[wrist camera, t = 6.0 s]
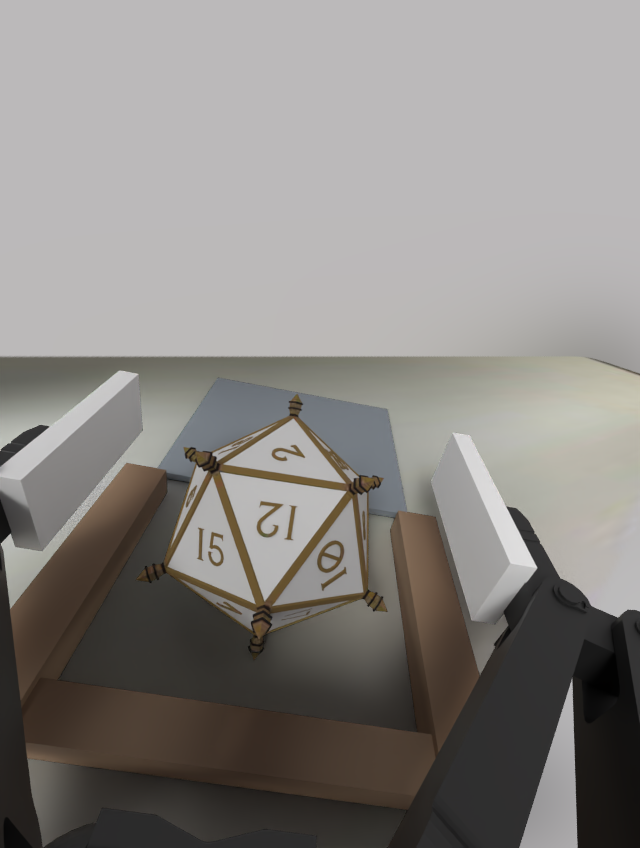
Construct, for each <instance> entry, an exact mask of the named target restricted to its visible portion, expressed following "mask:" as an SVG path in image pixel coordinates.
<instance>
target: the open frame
mask: <svg viewBox="0 0 640 848" xmlns="http://www.w3.org/2000/svg"><path fill="white" fill-rule="evenodd" d="M166 493H167V473H166V470H164V469H158V468H152V467H146V466H141V465H135V464H129V463H126V464H125V465H124V467H123V468H122V469H121V470H120V472H119V473H118V474H117V475H116V477H115V478H114V479H113V480H112V482H111V483H110V484H109V486H108V487H107V488H106V489H105V491H104V492H103V493H102V494H101V496H100V497H99V498H98V499H97V501H96V502H95V503H94V504H93V506H92V507H91V508H90V509H89V511H88V512H87V513H86V515H85V516H84V517H83V518H82V520H81V521H80V522H79V523H78V525H77V526H76V527H75V528H74V530H73V531H72V532H71V533H70V535H69V536H68V537H67V538H66V540H65V541H64V542H63V543H62V545H61V546H60V547H59V549H58V550H57V551H56V552H55V554H54V555H53V556H52V557H51V559H50V560H49V561H48V562H47V564H46V565H45V566H44V567H43V569H42V570H41V571H40V572H39V574H38V575H37V576H36V578H35V579H34V580H33V581H32V583H31V584H30V585H29V586H28V588H27V589H26V590H25V591H24V593H23V594H22V595H21V596H20V598H19V599H18V600H17V601H16V603H15V604H14V605H13V606H12V608H11V609H10V614H11V623H12V631H13V640H14V648H15V657H16V666H17V674H18V683H19V691H20V700H21V709H22V717H23V726H24V734H25V743H26V752H27V758H28V759H36V760H43V761H51V762H58V763H65V764H73V765H80V766H88V767H95V768H102V769H110V770H117V771H124V772H132V773H139V774H147V775H154V776H161V777H169V778H176V779H183V780H191V781H198V782H206V783H213V784H220V785H228V786H235V787H243V788H250V789H257V790H265V791H272V792H279V793H287V794H294V795H302V796H309V797H316V798H324V799H331V800H338V801H346V802H353V803H361V804H368V805H375V806H383V807H390V808H398V809H405V810H408V809H409V807H410V805H411V803H412V801H413V799H414V798H415V796H416V794H417V792H418V790H419V788H420V786H421V785H422V783H423V781H424V779H425V777H426V775H427V773H428V772H429V770H430V768H431V766H432V764H433V762H434V760H435V759H436V757H437V755H438V753H439V751H440V749H441V747H442V746H443V744H444V742H445V740H446V738H447V736H448V734H449V733H450V731H451V729H452V727H453V725H454V723H455V721H456V720H457V718H458V716H459V714H460V712H461V710H462V708H463V707H464V705H465V703H466V701H467V699H468V697H469V695H470V694H471V692H472V690H473V688H474V686H475V684H476V682H477V681H478V679H479V677H480V676H479V672H478V669H477V665H476V661H475V658H474V654H473V651H472V647H471V643H470V640H469V636H468V633H467V629H466V625H465V622H464V618H463V615H462V611H461V607H460V604H459V600H458V597H457V593H456V589H455V586H454V582H453V579H452V575H451V571H450V568H449V564H448V560H447V557H446V553H445V550H444V546H443V542H442V539H441V535H440V532H439V528H438V524H437V521H436V517H433V516H427V515H422V514H416V513H410V512H404V511H399V510H398V512H397V514H396V517H395V519H394V522H393V524H392V527H391V529H390V533H391V540H392V548H393V555H394V563H395V570H396V578H397V585H398V592H399V600H400V607H401V615H402V622H403V630H404V637H405V645H406V652H407V660H408V667H409V674H410V682H411V689H412V697H413V704H414V712H415V719H416V727H417V732H411V731H405V730H398V729H391V728H384V727H377V726H370V725H363V724H356V723H350V722H343V721H336V720H329V719H322V718H315V717H308V716H302V715H295V714H288V713H281V712H274V711H267V710H260V709H254V708H247V707H240V706H233V705H226V704H219V703H212V702H206V701H199V700H192V699H185V698H178V697H171V696H164V695H158V694H151V693H144V692H137V691H130V690H123V689H116V688H110V687H103V686H96V685H89V684H82V683H75V682H68V681H62V680H58V678H59V677H60V675H61V673H62V672H63V670H64V668H65V666H66V665H67V663H68V661H69V660H70V658H71V656H72V654H73V653H74V651H75V649H76V648H77V646H78V644H79V642H80V641H81V639H82V637H83V636H84V634H85V632H86V630H87V629H88V627H89V625H90V624H91V622H92V620H93V618H94V617H95V615H96V613H97V612H98V610H99V608H100V606H101V605H102V603H103V601H104V600H105V598H106V596H107V594H108V593H109V591H110V589H111V588H112V586H113V584H114V582H115V581H116V579H117V577H118V576H119V574H120V572H121V570H122V569H123V567H124V565H125V564H126V562H127V560H128V558H129V557H130V555H131V553H132V552H133V550H134V548H135V546H136V545H137V543H138V541H139V540H140V538H141V536H142V534H143V533H144V531H145V529H146V528H147V526H148V524H149V522H150V521H151V519H152V517H153V516H154V514H155V512H156V510H157V509H158V507H159V505H160V504H161V502H162V500H163V498H164V497H165V495H166Z"/></svg>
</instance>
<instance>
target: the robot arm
mask: <svg viewBox="0 0 640 848" xmlns="http://www.w3.org/2000/svg"><path fill="white" fill-rule="evenodd" d="M142 431H143V426H142V412H141V399H140V386H139V374H136V373H131V372H126V371H120V370H119V371H118V372H117V373H116V374H114V375H113V376H112V377H111V378H109V379H108V380H107V381H106V382H104V383H103V384H102V385H101V386H100V387H98V388H97V389H96V390H95V391H93V392H92V393H91V394H90V395H88V396H87V397H86V398H85V399H83V400H82V401H81V402H80V403H79V404H77V405H76V406H75V407H74V408H72V409H71V410H70V411H69V412H67V413H66V414H65V415H64V416H62V417H61V418H60V419H59V420H58V421H56V422H55V423H54V424H53V425H51V426H50V427H49V426H44V425H39V426H37V427H35V428H32V429H30V430H27V431H25V432H23V433H22V434H20V435H19V436H18V437H16V438H15V439H14V440H13V441H11V444H7V445H6V446H5V447H3V448H2V449H1V451H0V848H316V838H317V836H314V835H307V834H299V833H291V832H284V831H276V830H268V829H263V830H259V831H255V832H251V833H247V834H243V835H239V836H235V837H230V838H226V839H222V840H218V841H214V842H204V841H201V840H199V839H198V838H196V837H194V836H192V835H191V834H189V833H187V832H185V831H184V830H182V829H180V828H178V827H176V826H175V825H173V824H171V823H169V822H168V821H166V820H164V819H162V818H161V817H159V816H157V815H154V814H146V813H138V812H131V811H123V810H115V809H108V808H102V809H101V812H100V814H99V817H98V819H97V822H96V823H92V824H88V825H85V826H82V827H80V828H77V829H74V830H72V831H70V832H68V833H66V834H64V835H62V836H61V837H59V838H57V839H55V840H54V841H52V842H51V843H49V844H48V845H46V846H45V847H43V846H42V839H41V832H40V827H39V822H38V817H37V814H36V810H35V807H34V803H33V798H32V793H31V786H30V777H29V769H28V760H27V752H26V743H25V734H24V726H23V717H22V709H21V700H20V691H19V683H18V674H17V666H16V657H15V648H14V640H13V631H12V623H11V614H10V605H9V597H8V588H7V580H6V571H5V562H4V554H3V549H2V547H1V543H2V542H3V541H4V540H5V539H6V538H7V536H8V535H9V534H10V533H11V536H12V538H13V541H14V544H15V547H19V548H26V549H32V550H38V551H43V549H44V548H45V547H46V546H47V545H48V543H49V542H50V541H51V540H52V539H53V537H54V536H55V535H56V534H57V533H58V531H59V530H60V529H61V528H62V527H63V525H64V524H65V523H66V522H67V521H68V519H69V518H70V517H71V516H72V515H73V513H74V512H75V511H76V510H77V509H78V507H79V506H80V505H81V504H82V503H83V501H84V500H85V499H86V498H87V497H88V495H89V494H90V493H91V492H92V491H93V489H94V488H95V487H96V486H97V485H98V483H99V482H100V481H101V480H102V479H103V477H104V476H105V475H106V474H107V473H108V471H109V470H110V469H111V468H112V467H113V465H114V464H115V463H116V462H117V461H118V459H119V458H120V457H121V456H122V455H123V453H124V452H125V451H126V450H127V449H128V447H129V446H130V445H131V444H132V443H133V441H134V440H135V439H136V438H137V437H138V435H139V434H140V433H141V432H142ZM431 484H432V488H433V491H434V494H435V498H436V501H437V505H438V508H439V511H440V515H441V518H442V522H443V525H444V528H445V532H446V535H447V538H448V542H449V545H450V549H451V552H452V555H453V559H454V562H455V566H456V569H457V572H458V576H459V579H460V583H461V586H462V589H463V593H464V596H465V600H466V603H467V606H468V610H469V613H470V616H471V620H472V621H477V622H483V623H490V624H496V623H497V622H498V620H499V619H500V618H501V616H502V615H503V614H505V617H506V620H507V622H508V625H509V626H508V627H507V628H506V629H505V631H504V632H503V633H502V635H501V636H500V637H499V638H498V640H497V641H496V642H495V644H494V646H496V647H495V649H494V651H493V653H492V655H491V656H490V658H489V660H488V662H487V664H486V666H485V668H484V669H483V671H482V673H481V675H480V677H479V679H478V681H477V682H476V684H475V686H474V688H473V690H472V692H471V694H470V695H469V697H468V699H467V701H466V703H465V705H464V707H463V708H462V710H461V712H460V714H459V716H458V718H457V720H456V721H455V723H454V725H453V727H452V729H451V731H450V733H449V734H448V736H447V738H446V740H445V742H444V744H443V746H442V747H441V749H440V751H439V753H438V755H437V757H436V759H435V760H434V762H433V764H432V766H431V768H430V770H429V772H428V773H427V775H426V777H425V779H424V781H423V783H422V785H421V786H420V788H419V790H418V792H417V794H416V796H415V798H414V799H413V801H412V803H411V805H410V807H409V809H408V811H407V812H406V814H405V816H404V818H403V820H402V822H401V824H400V825H399V827H398V829H397V831H396V833H395V835H394V837H393V838H392V840H391V842H390V843H389V845H388V847H387V848H519V846H520V843H521V840H522V837H523V833H524V830H525V827H526V824H527V820H528V817H529V814H530V811H531V808H532V805H533V801H534V798H535V795H536V792H537V788H538V785H539V782H540V779H541V775H542V773H543V769H544V766H545V763H546V760H547V757H548V753H549V750H550V747H551V744H552V740H553V737H554V734H555V731H556V728H557V725H558V721H559V718H560V715H561V712H562V709H563V705H564V702H565V699H566V695H567V692H568V689H569V686H570V683H571V680H573V712H574V743H575V775H576V803H577V804H576V807H577V839H578V848H640V612H639V611H637V610H627V611H625V612H624V613H623V614H622V615H621V616H620V617H619V618H617V617H615V616H613V615H610V614H608V613H606V612H603V611H601V610H599V609H596V608H594V607H592V606H591V605H590V603H589V601H588V599H587V598H586V597H585V595H584V594H583V593H582V592H581V591H580V590H579V589H578V588H576V587H575V586H574V585H573V584H571V583H569V582H567V581H565V580H563V579H560V577H559V575H558V573H557V572H556V570H555V568H554V566H553V564H552V563H551V561H550V559H549V557H548V555H547V554H546V552H545V550H544V548H543V546H542V545H541V544H540V541H539V539H538V537H537V535H536V534H534V530H533V528H532V526H531V525H530V523H529V521H528V520H527V519H526V518H525V517H524V515H523V514H522V513H521V512H520V511H519V510H518V509H517V508H511V507H506V505H505V503H504V501H503V500H502V498H501V496H500V494H499V492H498V490H497V488H496V486H495V484H494V482H493V480H492V478H491V476H490V474H489V472H488V470H487V468H486V466H485V464H484V462H483V460H482V458H481V456H480V454H479V452H478V450H477V448H476V446H475V444H474V442H473V441H472V439H471V437H470V435H464V434H459V433H454V432H452V434H451V437H450V439H449V441H448V444H447V446H446V448H445V450H444V453H443V455H442V457H441V460H440V462H439V464H438V466H437V469H436V471H435V473H434V476H433V478H432V480H431Z"/></svg>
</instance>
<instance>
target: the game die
mask: <svg viewBox="0 0 640 848" xmlns="http://www.w3.org/2000/svg"><path fill="white" fill-rule="evenodd" d="M289 403H290V406H289V407H288V409H289V411H290V415H289V416H287V417H285V418H283V419H281V420H279V421H277V422H275V423H272V424H270V425H268V426H266V427H264V428H262V429H259V430H257V431H255V432H253V433H251V434H249V435H246V436H244V437H242V438H240V439H238V440H236V441H233V442H231V443H229V444H227V445H225V446H223V447H220V448H218V449H216V450H214V451H212V452H209V451H203V452H200V451H197V450H196V448H194V447H190V448H187V447H183V448H184V451H185V458H186V459H187V458H188V459H189V460H190V462H192V461H193V462H196V464H195V467H194V470H193V473H192V476H191V479H190V482H189V485H188V488H187V491H186V494H185V498H184V501H183V504H182V507H181V510H180V513H179V516H178V519H177V522H176V525H175V528H174V531H173V534H172V537H171V541H170V544H169V547H168V550H167V553H166V556H165V559H164V562H163V563H162V564H157V565H155V564H153V565H152V566H150V567H147V566H145V569H144V570H143V572H142V573H141V574H140V575H139V576H138V578H137V579H136V580H139V581H146V582H149V583H152V581H153V580H155V579H157V580H158V579H159V577H160V576H162V575H163V574H165V573H167V574H169V575H170V576H171V577H173V578H174V579H176V580H177V581H178V582H180V583H181V584H183V585H184V586H186V587H187V588H188V589H190V590H191V591H193V592H194V593H195V594H197V595H198V596H200V597H201V598H203V599H204V600H205V601H207V602H208V603H210V604H211V605H212V606H214V607H215V608H217V609H218V610H220V611H221V612H222V613H224V614H225V615H227V616H228V617H229V618H231V619H232V620H234V621H235V622H236V623H238V624H239V625H241V626H242V627H244V628H245V629H246V630H248V631H249V632H251V633H252V634H253V637H252V639H250V646H248V648H249V651H250V652H251V654H252V656H253V659H254V660H255V658H256V657H257V656H258V654H260V653H261V652H262V651H263V649H264V648H263V644H264V641H263V637H262V636H263V635H265V634H268V633H271V632H274V631H276V630H279V629H282V628H284V627H287V626H290V625H292V624H295V623H298V622H300V621H303V620H306V619H308V618H311V617H314V616H316V615H319V614H322V613H324V612H327V611H330V610H332V609H335V608H338V607H340V606H343V605H346V604H348V603H351V602H354V601H356V600H359V599H365V601H366V602H367V604H368V605H367V606H368V607H369V606H370V607H371V608H373V611H375V610H376V611H385V612H387V609H386V607H385V604H384V601H383V597H380V596H378V595H377V592H376V593H373V592H371V591H369V590H368V530H369V491H370V489H373V490H374V489H375V488H376V487H377V488H379V487H380V485H381V482H382V481H383V479H384V478H381V477H378V476H375V475H373V476H372V477H371V478H370V477H368V476H364V475H358V474H357V473H356V472H355V471H354V470H353V469H352V468H351V467H350V466H349V465H348V464H347V463H346V462H345V461H344V460H343V459H342V458H340V457H339V456H338V455H337V454H336V453H335V452H334V451H333V450H332V449H331V448H330V447H329V446H328V445H327V444H326V443H325V442H324V441H323V440H322V439H321V438H320V437H319V436H318V435H316V434H315V433H314V432H313V431H312V430H311V429H310V428H309V427H308V426H307V425H306V424H305V423H304V422H303V421H302V420H301V419H300V418H299V416H298V415H299V413H300V411H302V409H301V406H302V405H303V403H302V402H301V400H300V398H299V395H298V393H297V394H296V395H295V396H294V398H293V399H292V400H291V401H289Z"/></svg>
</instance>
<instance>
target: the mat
mask: <svg viewBox="0 0 640 848" xmlns="http://www.w3.org/2000/svg"><path fill="white" fill-rule="evenodd" d="M297 393H298V392H292V391H287V390H282V389H276V388H271V387H266V386H260V385H255V384H250V383H244V382H239V381H234V380H228V379H223V378H217V380H216V381H215V383H214V384H213V386H212V387H211V389H210V390H209V392H208V393H207V395H206V396H205V398H204V399H203V401H202V402H201V404H200V405H199V407H198V408H197V410H196V411H195V413H194V414H193V416H192V417H191V419H190V420H189V422H188V423H187V425H186V426H185V428H184V429H183V431H182V432H181V434H180V435H179V437H178V438H177V440H176V441H175V443H174V444H173V446H172V447H171V449H170V450H169V452H168V453H167V455H166V456H165V458H164V459H163V461H162V462H161V464H160V465H159V467H158V469H164V470H166V473H167V479H173V480H179V481H185V482H190V479H191V476H192V473H193V470H194V467H195V464H196V462H193V461H192V462H190V460H189V459H188V458H187V459H186V458H185V451H184V448H183V447H187V448H190V447H194V448H196V450H197V451H200V452H203V451H209V452H212V451H214V450H216V449H218V448H220V447H223V446H225V445H227V444H229V443H231V442H233V441H236V440H238V439H240V438H242V437H244V436H246V435H249V434H251V433H253V432H255V431H257V430H259V429H262V428H264V427H266V426H268V425H270V424H272V423H275V422H277V421H279V420H281V419H283V418H285V417H287V416H289V415H290V411H289V409H288V407H289V406H290V403H289V401H291V400H292V399H293V398H294V396H295V395H296V394H297ZM298 395H299V398H300V400H301V402H302V403H303V405H302V406H301V409H302V411H300V413H299V415H298V416H299V418H300V419H301V420H302V421H303V422H304V423H305V424H306V425H307V426H308V427H309V428H310V429H311V430H312V431H313V432H314V433H315V434H316V435H318V436H319V437H320V438H321V439H322V440H323V441H324V442H325V443H326V444H327V445H328V446H329V447H330V448H331V449H332V450H333V451H334V452H335V453H336V454H337V455H338V456H339V457H340V458H342V459H343V460H344V461H345V462H346V463H347V464H348V465H349V466H350V467H351V468H352V469H353V470H354V471H355V472H356V473H357V474H358V475H364V476H368V477H370V478H371V477H372V476H373V475H375V476H378V477H381V478H384V479H383V481H382V482H381V485H380V487H379V488H377V487H376V488H375V489H374V490H373V489H370V491H369V514H375V515H381V516H387V517H392V518H395V517H396V514H397V512H398V510H399V511H404V512H407V508H406V503H405V498H404V493H403V488H402V483H401V477H400V472H399V467H398V462H397V457H396V452H395V447H394V441H393V436H392V431H391V426H390V421H389V416H388V411H387V409H383V408H378V407H372V406H367V405H362V404H356V403H351V402H346V401H340V400H335V399H330V398H324V397H319V396H314V395H308V394H303V393H298Z"/></svg>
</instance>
